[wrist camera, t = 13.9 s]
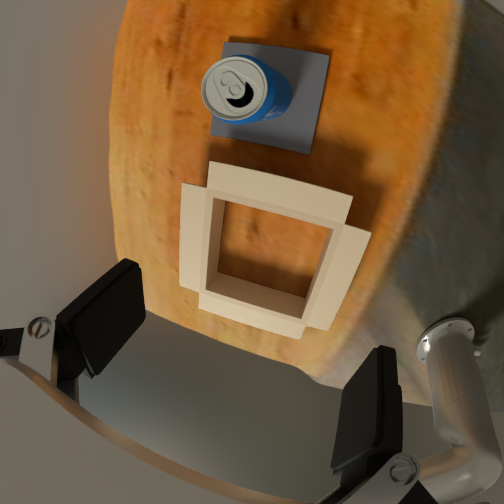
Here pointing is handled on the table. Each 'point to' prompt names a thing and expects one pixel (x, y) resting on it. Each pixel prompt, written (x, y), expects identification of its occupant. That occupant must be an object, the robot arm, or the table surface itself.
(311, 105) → the mat
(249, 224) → the table surface
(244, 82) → the beverage can
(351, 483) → the robot arm
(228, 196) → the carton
